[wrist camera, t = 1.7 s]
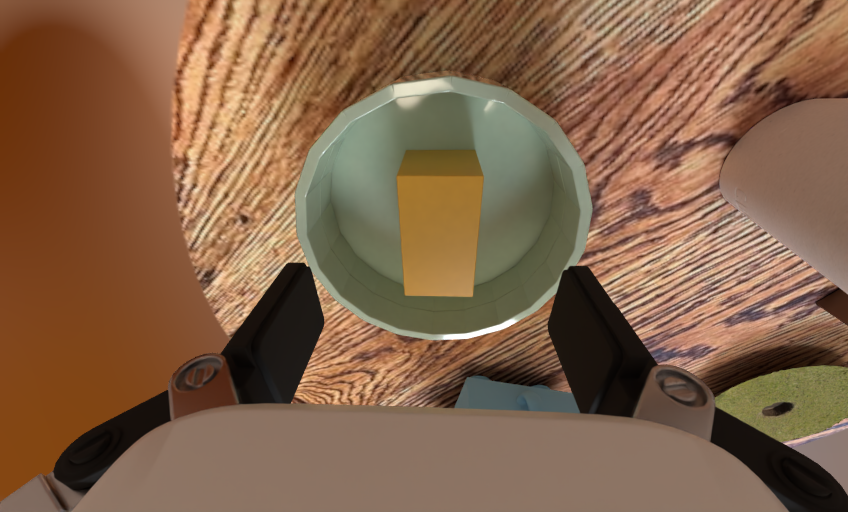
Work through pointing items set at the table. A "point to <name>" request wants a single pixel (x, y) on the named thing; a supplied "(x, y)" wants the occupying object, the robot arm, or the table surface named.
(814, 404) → the mat
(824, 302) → the stand
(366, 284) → the bowl
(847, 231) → the dixie cup
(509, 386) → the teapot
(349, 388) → the table surface
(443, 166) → the yellow rectangular block
